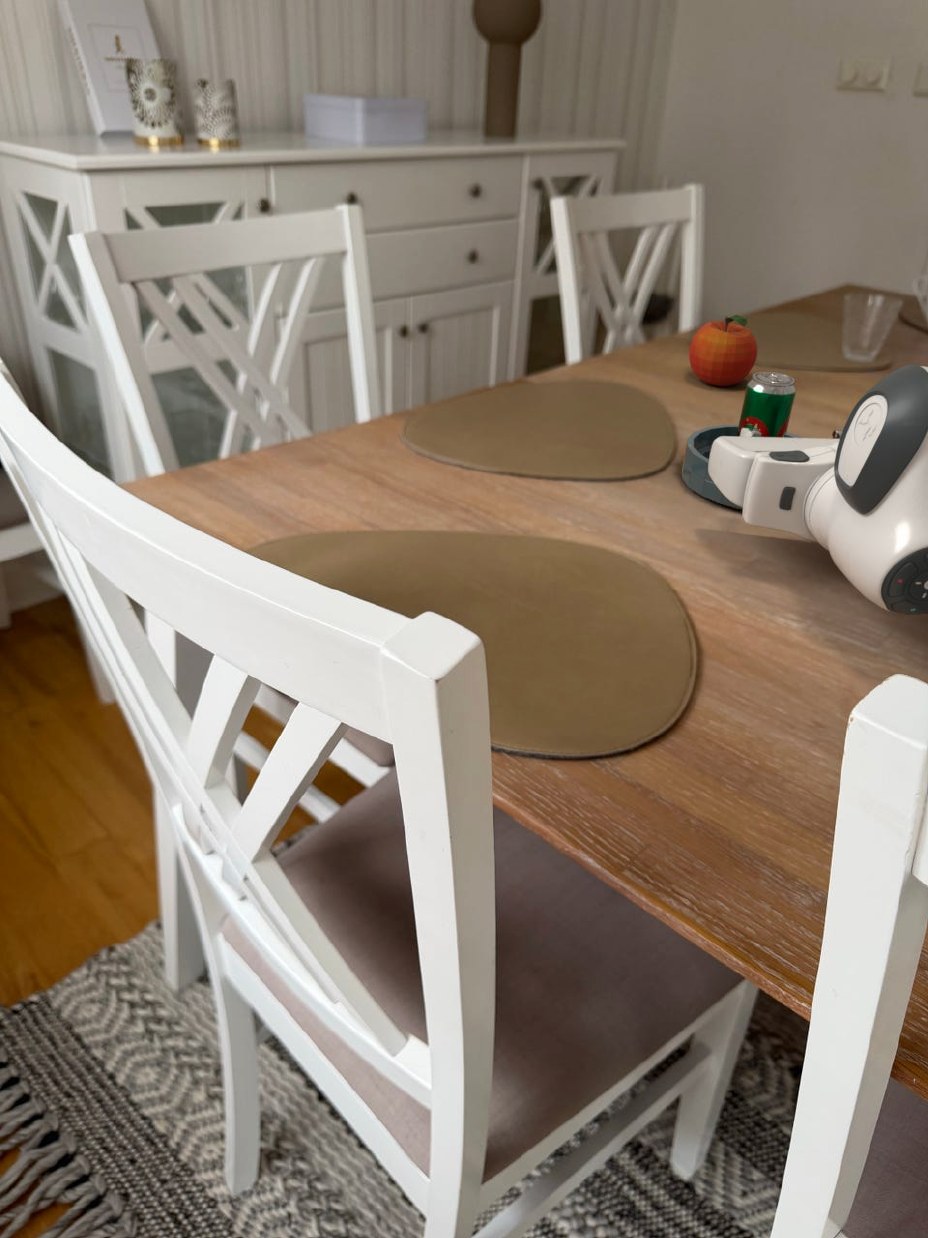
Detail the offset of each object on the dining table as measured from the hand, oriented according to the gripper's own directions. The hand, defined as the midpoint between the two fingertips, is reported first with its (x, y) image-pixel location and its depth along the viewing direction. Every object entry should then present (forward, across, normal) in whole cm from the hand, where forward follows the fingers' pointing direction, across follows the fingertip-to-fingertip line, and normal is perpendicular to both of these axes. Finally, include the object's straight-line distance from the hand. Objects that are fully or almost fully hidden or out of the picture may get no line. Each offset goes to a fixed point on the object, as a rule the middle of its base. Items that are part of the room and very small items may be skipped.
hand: (792, 436), depth 95 cm
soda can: (+8, 0, +9) cm, 12 cm away
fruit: (+45, -7, +9) cm, 47 cm away
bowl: (+8, 0, +9) cm, 12 cm away
